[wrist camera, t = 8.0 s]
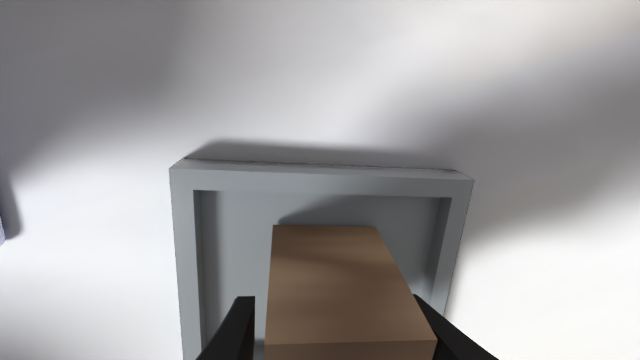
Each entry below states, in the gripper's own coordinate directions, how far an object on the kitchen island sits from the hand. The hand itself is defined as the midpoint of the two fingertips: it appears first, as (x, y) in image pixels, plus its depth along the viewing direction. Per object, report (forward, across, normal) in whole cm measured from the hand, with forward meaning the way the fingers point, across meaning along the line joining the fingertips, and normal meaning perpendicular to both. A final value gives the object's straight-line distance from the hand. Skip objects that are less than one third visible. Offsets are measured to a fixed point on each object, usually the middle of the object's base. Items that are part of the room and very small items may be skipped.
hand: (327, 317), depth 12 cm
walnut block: (+3, 0, 0) cm, 3 cm away
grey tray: (+3, 0, 0) cm, 3 cm away
